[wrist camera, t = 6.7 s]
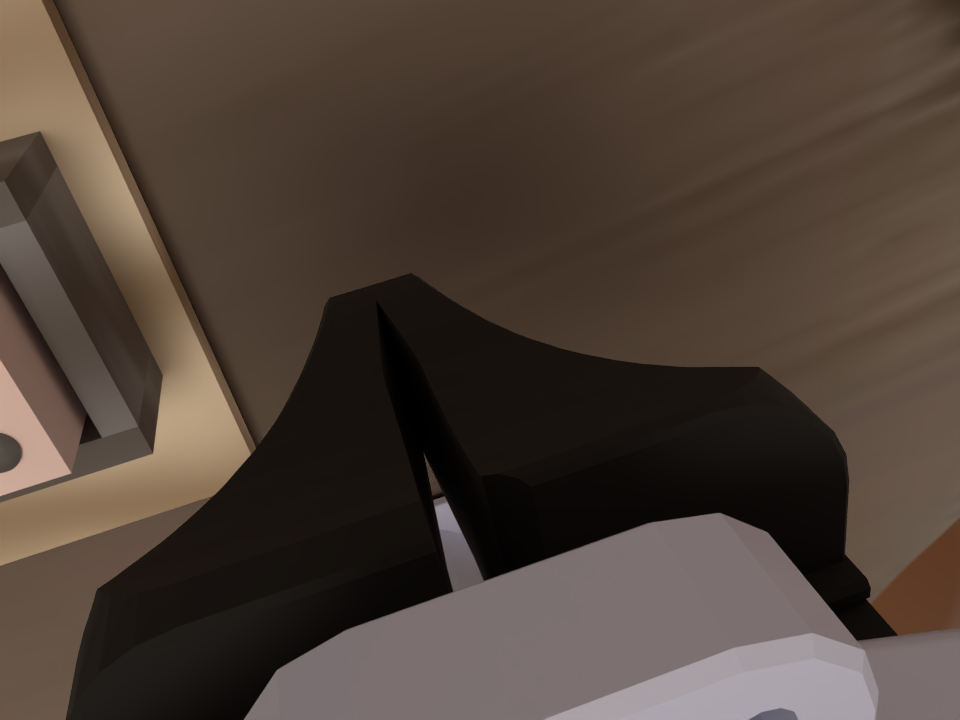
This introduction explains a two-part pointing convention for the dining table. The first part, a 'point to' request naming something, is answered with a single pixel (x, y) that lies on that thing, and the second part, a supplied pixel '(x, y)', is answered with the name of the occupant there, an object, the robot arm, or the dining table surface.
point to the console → (100, 306)
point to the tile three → (32, 401)
